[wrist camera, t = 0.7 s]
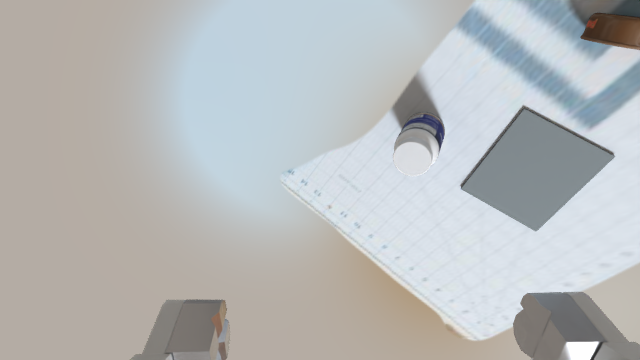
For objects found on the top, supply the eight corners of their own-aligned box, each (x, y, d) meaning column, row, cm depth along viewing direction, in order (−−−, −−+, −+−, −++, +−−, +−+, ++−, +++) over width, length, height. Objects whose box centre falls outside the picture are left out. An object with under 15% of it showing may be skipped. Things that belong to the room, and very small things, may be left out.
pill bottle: (436, 154, 55) (425, 187, 48) (399, 140, 57) (382, 170, 49) (452, 119, 52) (443, 148, 44) (412, 105, 53) (396, 130, 45)
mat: (524, 108, 48) (524, 109, 48) (614, 155, 47) (614, 156, 46) (461, 187, 56) (461, 189, 56) (536, 229, 55) (536, 231, 55)
